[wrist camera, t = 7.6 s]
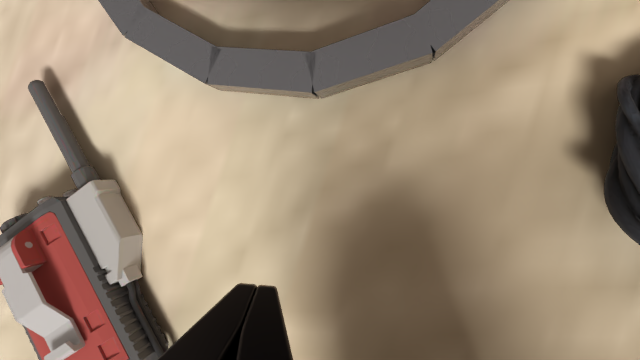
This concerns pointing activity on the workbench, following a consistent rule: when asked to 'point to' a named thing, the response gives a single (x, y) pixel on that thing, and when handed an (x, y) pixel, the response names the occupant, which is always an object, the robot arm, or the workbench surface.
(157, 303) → the workbench surface
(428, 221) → the workbench surface
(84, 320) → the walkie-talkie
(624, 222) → the cable
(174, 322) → the workbench surface
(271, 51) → the ring
